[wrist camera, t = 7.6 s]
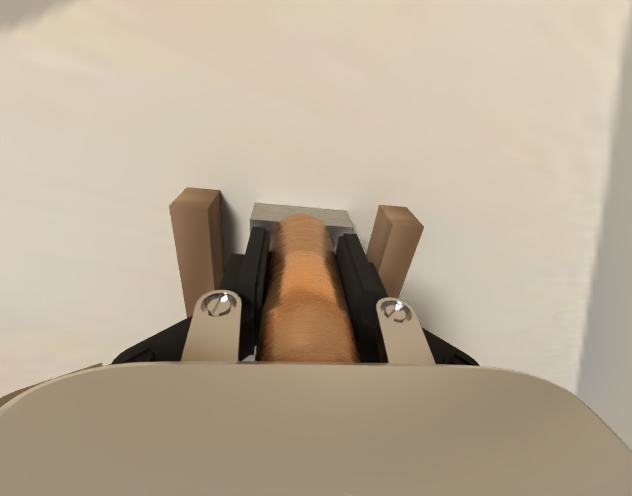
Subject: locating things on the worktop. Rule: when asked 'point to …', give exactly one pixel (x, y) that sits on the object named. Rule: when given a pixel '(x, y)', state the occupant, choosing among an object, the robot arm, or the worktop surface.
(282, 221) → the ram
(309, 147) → the worktop surface
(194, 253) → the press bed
